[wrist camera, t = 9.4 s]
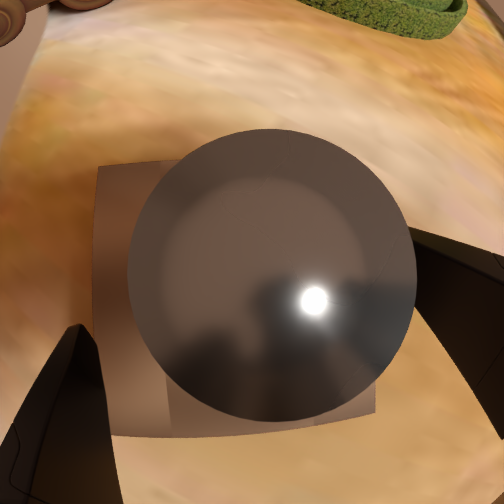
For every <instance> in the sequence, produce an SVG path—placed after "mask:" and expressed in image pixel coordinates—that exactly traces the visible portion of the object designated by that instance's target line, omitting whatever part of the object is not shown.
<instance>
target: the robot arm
mask: <svg viewBox="0 0 504 504" xmlns="http://www.w3.org/2000/svg"><path fill="white" fill-rule="evenodd" d="M408 229H409V232H410V236H411V239H412V242H413V247H414V252H415V258H416V269H417V288H416V298H415V304H414V307H415V308H416V309H417V311H418V312H419V313H420V315H421V316H422V317H423V319H424V320H425V321H426V323H427V324H428V326H429V327H430V328H431V330H432V331H433V333H434V334H435V335H436V337H437V338H438V340H439V341H440V343H441V344H442V345H443V347H444V348H445V350H446V351H447V353H448V354H449V356H450V357H451V359H452V360H453V362H454V363H455V365H456V366H457V368H458V369H459V371H460V372H461V374H462V375H463V377H464V378H465V380H466V382H467V383H468V385H469V386H470V388H471V389H472V391H473V393H474V395H475V396H476V398H477V399H478V401H479V403H480V404H481V406H482V408H483V409H484V411H485V413H486V414H487V416H488V418H489V420H490V421H491V423H492V425H493V426H494V428H495V430H496V432H497V434H498V435H499V437H500V438H501V440H503V439H504V256H501V255H498V254H495V253H491V252H489V251H486V250H483V249H480V248H477V247H474V246H471V245H468V244H465V243H462V242H458V241H455V240H452V239H449V238H446V237H442V236H439V235H436V234H433V233H429V232H426V231H422V230H419V229H416V228H412V227H409V226H408ZM13 422H14V423H12V424H11V426H10V428H9V430H8V432H7V434H6V436H5V438H4V440H3V442H2V444H1V446H0V504H123V499H122V495H121V490H120V485H119V480H118V475H117V470H116V464H115V458H114V452H113V446H112V439H111V431H110V423H109V415H108V405H107V397H106V391H105V386H104V380H103V375H102V369H101V364H100V357H99V351H98V347H97V344H96V342H95V341H94V339H93V338H92V337H91V335H90V334H89V332H88V331H87V329H86V328H85V327H84V325H82V324H76V325H73V326H70V327H68V328H67V330H66V331H65V333H64V334H63V336H62V338H61V339H60V341H59V342H58V344H57V345H56V347H55V349H54V350H53V352H52V353H51V355H50V357H49V358H48V360H47V362H46V363H45V365H44V367H43V368H42V370H41V372H40V373H39V375H38V377H37V379H36V380H35V382H34V384H33V385H32V387H31V389H30V391H29V393H28V394H27V396H26V398H25V400H24V402H23V403H22V405H21V407H20V409H19V411H18V413H17V415H16V417H15V418H14V421H13ZM492 504H504V492H503V493H502V494H501V495H500V496H499V497H498V498H497V499H496V500H495V501H494V502H493V503H492Z"/></svg>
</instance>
